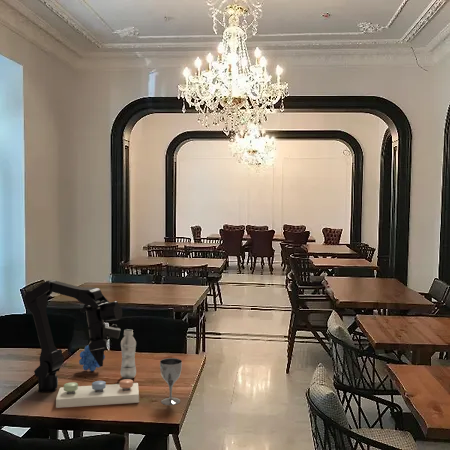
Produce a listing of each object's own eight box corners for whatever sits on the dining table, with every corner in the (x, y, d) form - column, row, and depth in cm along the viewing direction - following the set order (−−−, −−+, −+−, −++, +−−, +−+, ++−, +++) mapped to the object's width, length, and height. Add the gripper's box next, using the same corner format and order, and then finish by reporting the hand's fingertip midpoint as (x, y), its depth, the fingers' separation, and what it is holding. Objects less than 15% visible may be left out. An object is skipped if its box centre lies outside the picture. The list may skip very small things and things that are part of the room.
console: (56, 407, 180) (56, 399, 180) (60, 395, 192) (60, 387, 192) (138, 402, 186) (138, 394, 186) (137, 390, 198) (137, 382, 198)
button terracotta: (119, 396, 188) (119, 384, 188) (119, 391, 193) (119, 379, 193) (133, 395, 189) (133, 383, 189) (132, 390, 194) (132, 378, 194)
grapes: (108, 368, 223) (108, 341, 222) (102, 373, 216) (102, 346, 216) (83, 367, 225) (83, 340, 224) (76, 372, 218) (76, 344, 217)
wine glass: (182, 397, 191) (182, 357, 191) (180, 405, 183) (181, 364, 183) (160, 397, 191) (161, 357, 190) (158, 405, 183) (159, 364, 182)
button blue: (91, 397, 186) (91, 385, 186) (92, 392, 191) (92, 381, 191) (105, 396, 187) (105, 385, 187) (106, 391, 192) (106, 380, 192)
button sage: (63, 399, 184) (63, 387, 184) (64, 394, 189) (64, 382, 189) (77, 398, 185) (77, 386, 185) (78, 393, 190) (78, 382, 190)
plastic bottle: (121, 381, 208) (121, 332, 207) (119, 375, 214) (120, 328, 213) (136, 380, 209) (137, 332, 208) (135, 374, 216) (135, 328, 215)
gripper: (117, 321, 182) (123, 364, 182) (117, 314, 201) (123, 354, 200) (85, 327, 180) (92, 371, 180) (88, 320, 198) (94, 359, 198)
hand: (101, 363), depth 190 cm, fingers open, 9 cm apart
